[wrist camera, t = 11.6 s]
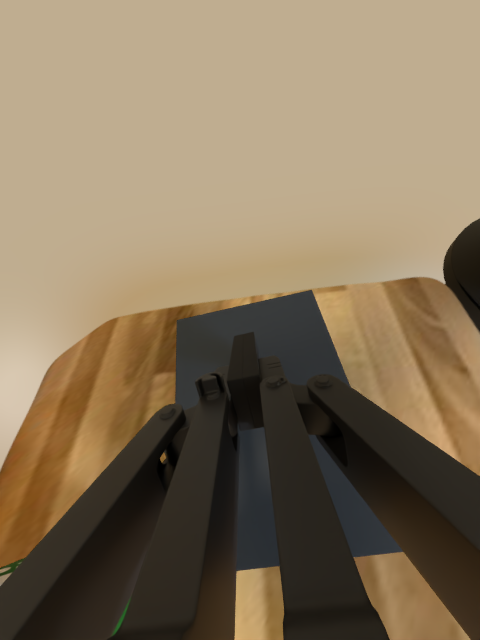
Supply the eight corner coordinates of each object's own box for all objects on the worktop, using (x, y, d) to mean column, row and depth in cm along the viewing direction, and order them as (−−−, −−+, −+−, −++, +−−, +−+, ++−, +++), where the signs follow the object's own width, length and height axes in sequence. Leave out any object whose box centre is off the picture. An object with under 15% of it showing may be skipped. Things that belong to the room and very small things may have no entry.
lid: (180, 324, 21) (176, 320, 21) (311, 295, 20) (311, 289, 20) (177, 571, 13) (171, 578, 12) (408, 544, 11) (416, 550, 11)
